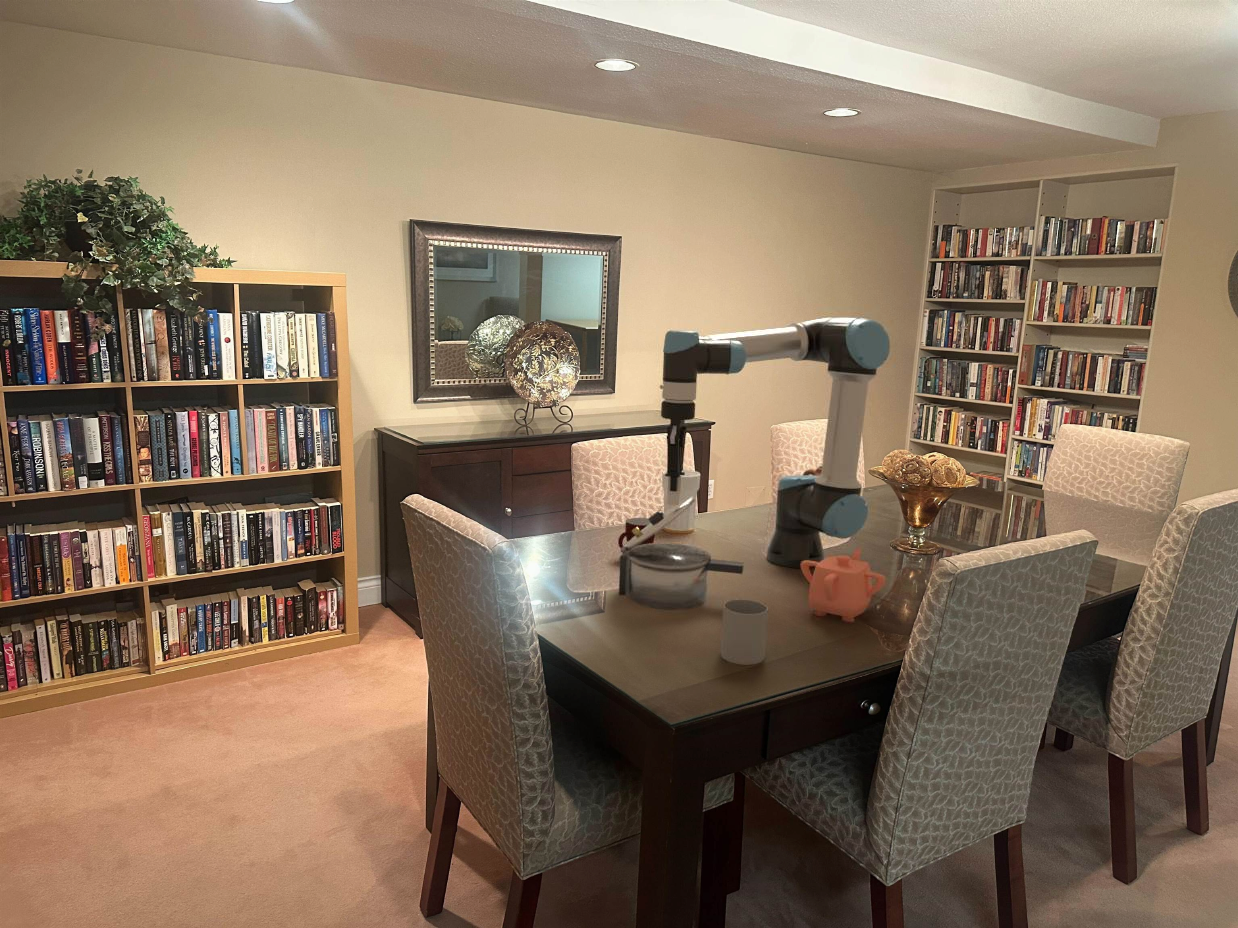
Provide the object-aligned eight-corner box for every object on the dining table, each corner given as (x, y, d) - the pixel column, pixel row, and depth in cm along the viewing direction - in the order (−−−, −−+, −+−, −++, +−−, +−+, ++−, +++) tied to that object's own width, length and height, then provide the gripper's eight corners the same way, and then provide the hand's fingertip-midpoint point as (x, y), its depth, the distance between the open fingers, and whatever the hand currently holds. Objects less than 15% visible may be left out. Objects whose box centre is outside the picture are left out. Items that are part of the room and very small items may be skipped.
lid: (700, 492, 206) (692, 482, 206) (688, 510, 188) (680, 499, 188) (633, 539, 212) (626, 529, 212) (616, 561, 194) (607, 550, 194)
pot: (744, 590, 208) (746, 550, 206) (736, 618, 190) (739, 573, 188) (629, 578, 214) (631, 539, 212) (611, 604, 196) (613, 561, 194)
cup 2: (717, 647, 173) (720, 599, 172) (758, 647, 174) (761, 599, 172) (726, 664, 165) (729, 614, 163) (768, 664, 166) (772, 614, 164)
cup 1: (704, 529, 264) (707, 472, 261) (686, 536, 255) (689, 478, 252) (671, 522, 270) (673, 467, 267) (652, 530, 261) (655, 473, 258)
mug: (629, 565, 225) (631, 528, 223) (610, 557, 231) (612, 521, 229) (661, 559, 231) (662, 522, 230) (641, 552, 238) (643, 516, 236)
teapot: (824, 627, 186) (829, 568, 184) (790, 602, 201) (794, 547, 199) (893, 622, 191) (898, 564, 188) (855, 598, 206) (860, 544, 203)
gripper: (666, 396, 201) (662, 496, 206) (656, 402, 189) (651, 509, 193) (699, 398, 200) (694, 499, 204) (691, 404, 187) (685, 512, 191)
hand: (673, 504), depth 199 cm, fingers closed
